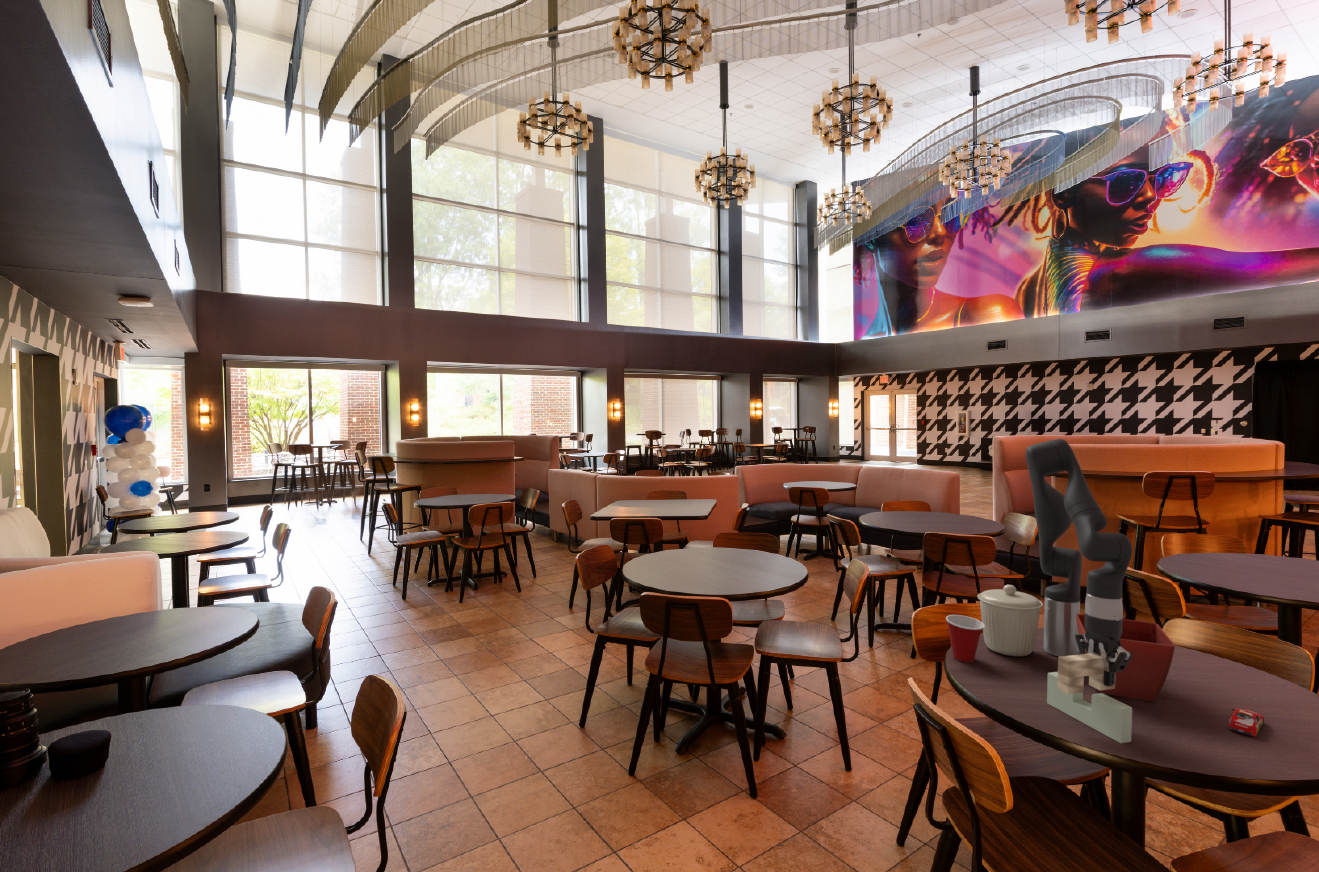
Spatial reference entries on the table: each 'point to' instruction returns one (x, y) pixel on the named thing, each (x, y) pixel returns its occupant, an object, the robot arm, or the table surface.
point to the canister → (1009, 620)
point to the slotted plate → (1081, 673)
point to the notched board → (1093, 710)
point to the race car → (1246, 722)
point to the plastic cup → (964, 636)
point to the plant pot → (1140, 659)
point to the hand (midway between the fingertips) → (1101, 682)
